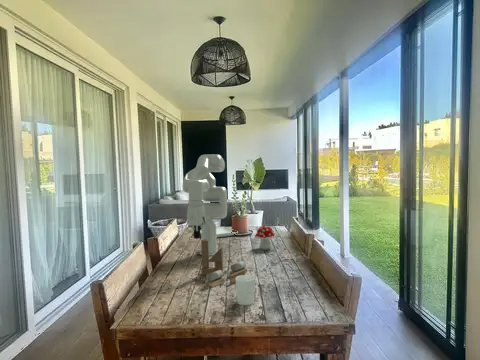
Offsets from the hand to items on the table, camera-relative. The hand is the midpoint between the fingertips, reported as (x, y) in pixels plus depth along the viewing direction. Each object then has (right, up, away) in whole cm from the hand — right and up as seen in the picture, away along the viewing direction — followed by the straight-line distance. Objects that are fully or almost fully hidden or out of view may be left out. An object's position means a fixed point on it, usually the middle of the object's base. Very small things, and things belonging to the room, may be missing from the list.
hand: (197, 238), depth 183 cm
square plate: (+3, -14, +94) cm, 95 cm away
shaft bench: (+18, -18, -13) cm, 28 cm away
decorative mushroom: (+39, -15, +46) cm, 62 cm away
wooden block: (+8, -18, -5) cm, 21 cm away
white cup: (+25, -20, -41) cm, 51 cm away
